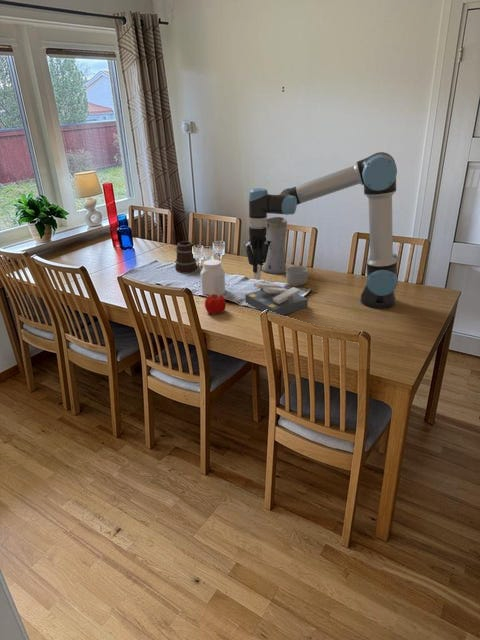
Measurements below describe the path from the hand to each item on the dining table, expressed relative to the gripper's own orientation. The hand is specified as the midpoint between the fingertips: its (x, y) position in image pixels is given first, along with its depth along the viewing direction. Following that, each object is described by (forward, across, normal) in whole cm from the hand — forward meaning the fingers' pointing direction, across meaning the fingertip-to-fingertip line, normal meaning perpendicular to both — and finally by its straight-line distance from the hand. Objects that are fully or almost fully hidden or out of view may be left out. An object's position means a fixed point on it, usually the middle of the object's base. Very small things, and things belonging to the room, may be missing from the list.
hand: (257, 278), depth 197 cm
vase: (+12, -33, -28) cm, 45 cm away
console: (+11, -5, +7) cm, 15 cm away
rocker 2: (+5, -5, +7) cm, 10 cm away
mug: (+12, +2, -61) cm, 62 cm away
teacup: (+12, -30, -7) cm, 33 cm away
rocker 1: (+5, -5, 0) cm, 7 cm away
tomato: (+12, +20, -2) cm, 24 cm away
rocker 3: (+4, -5, +14) cm, 16 cm away
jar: (+12, +9, -23) cm, 28 cm away
